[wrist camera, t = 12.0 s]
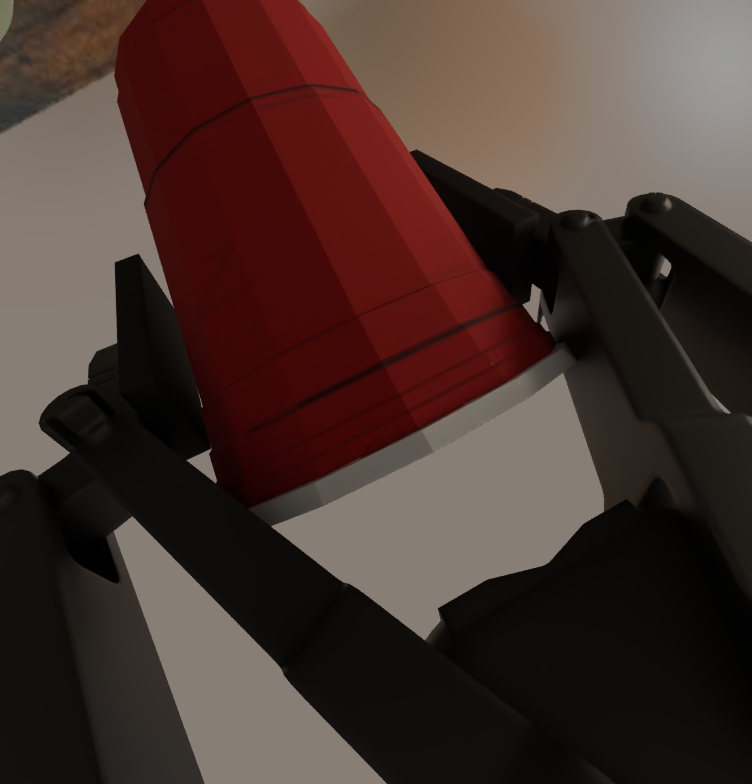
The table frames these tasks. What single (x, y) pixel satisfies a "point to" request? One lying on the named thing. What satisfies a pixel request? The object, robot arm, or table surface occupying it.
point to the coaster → (5, 16)
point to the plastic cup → (309, 259)
